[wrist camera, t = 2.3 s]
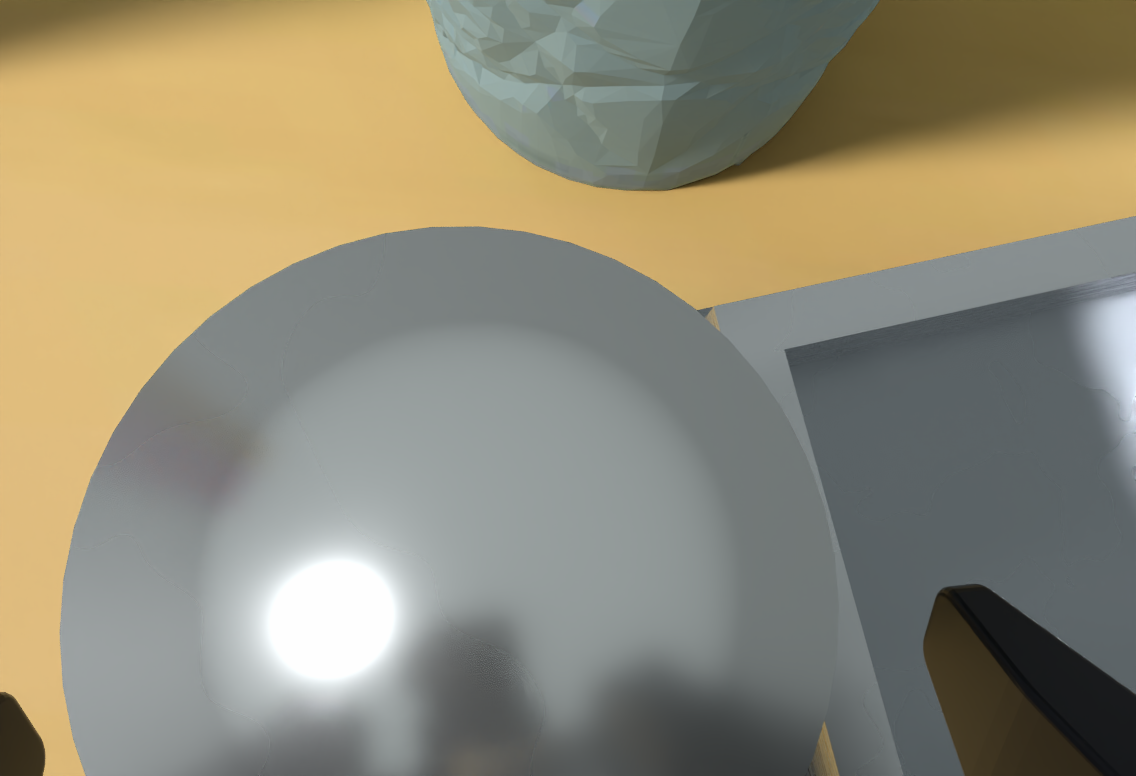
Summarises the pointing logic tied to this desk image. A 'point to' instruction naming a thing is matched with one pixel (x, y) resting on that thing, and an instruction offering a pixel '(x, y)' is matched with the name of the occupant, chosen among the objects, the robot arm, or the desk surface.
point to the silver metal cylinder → (451, 533)
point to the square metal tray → (961, 462)
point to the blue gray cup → (640, 79)
